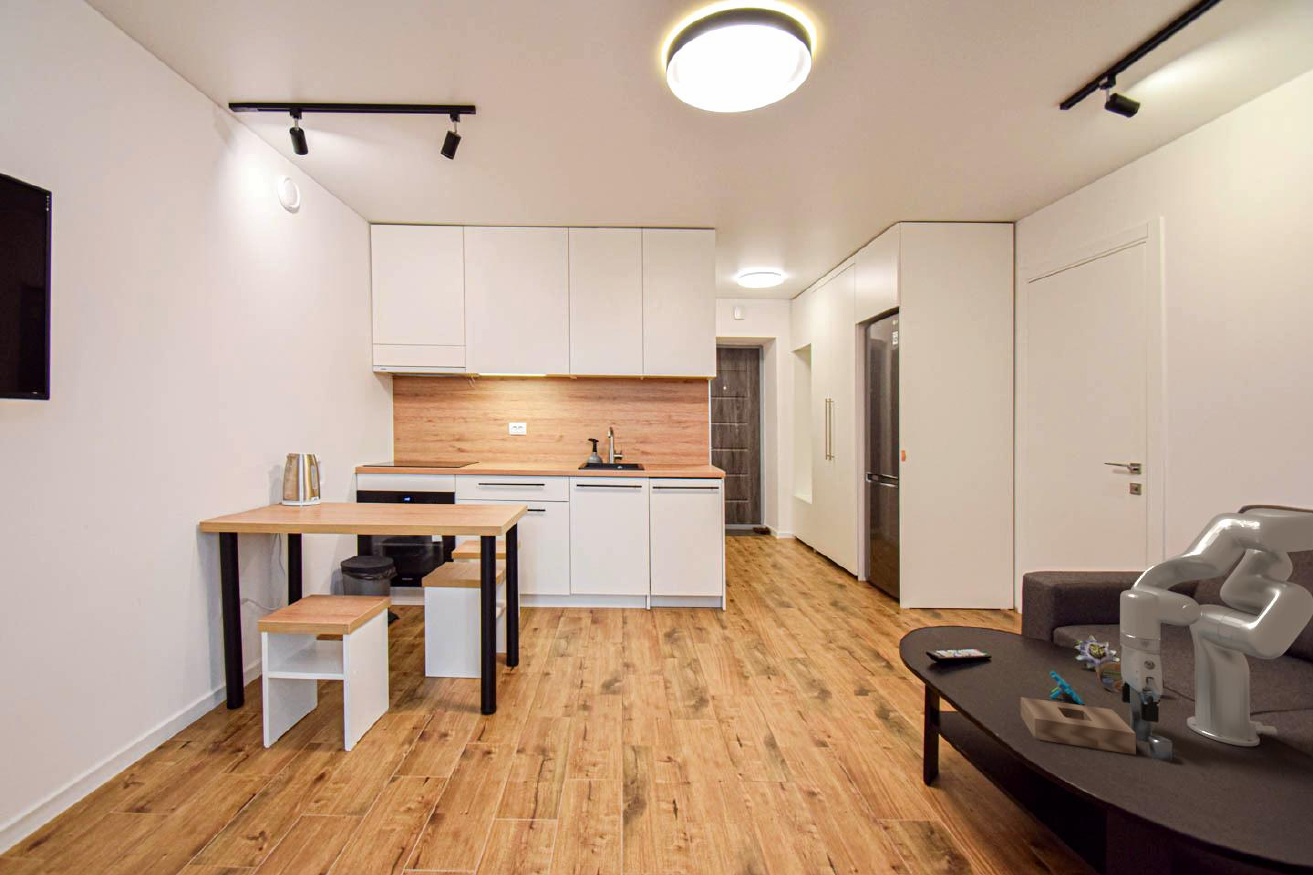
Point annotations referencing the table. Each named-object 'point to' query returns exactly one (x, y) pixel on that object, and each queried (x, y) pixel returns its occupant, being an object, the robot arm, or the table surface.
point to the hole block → (1078, 725)
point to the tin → (1112, 676)
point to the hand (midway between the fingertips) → (1139, 711)
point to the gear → (1063, 688)
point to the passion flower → (1095, 653)
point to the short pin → (1160, 748)
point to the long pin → (1138, 716)
